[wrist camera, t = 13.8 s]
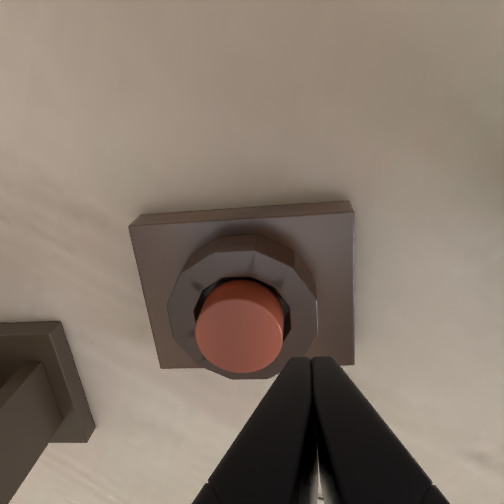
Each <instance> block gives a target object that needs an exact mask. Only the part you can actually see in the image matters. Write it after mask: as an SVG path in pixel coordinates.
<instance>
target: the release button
mask: <svg viewBox="0 0 504 504" xmlns="http://www.w3.org/2000/svg"><path fill="white" fill-rule="evenodd" d="M283 327H284V312H283V308H282V305H281V303H280V301H279V299H278V298H277V296H276V295H275V294H274V293H273V292H272V291H271V290H270V289H268V288H267V287H266V286H264V285H262V284H260V283H258V282H255V281H251V280H245V279H237V280H231V281H227V282H224V283H222V284H220V285H218V286H217V287H215V288H214V289H213V290H212V291H211V292H210V293H209V294H208V296H207V298H206V299H205V302H204V304H203V307H202V309H201V312H200V314H199V317H198V319H197V322H196V326H195V339H196V343H197V345H198V348H199V350H200V351H201V353H202V354H203V355H204V357H205V358H206V359H207V360H208V361H210V362H211V363H212V364H214V365H215V366H217V367H219V368H221V369H224V370H226V371H230V372H236V373H249V372H254V371H257V370H260V369H262V368H264V367H266V366H268V365H269V364H270V363H271V362H272V361H273V360H274V359H275V358H276V357H277V356H278V354H279V352H280V350H281V347H282V343H283Z"/></svg>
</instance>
